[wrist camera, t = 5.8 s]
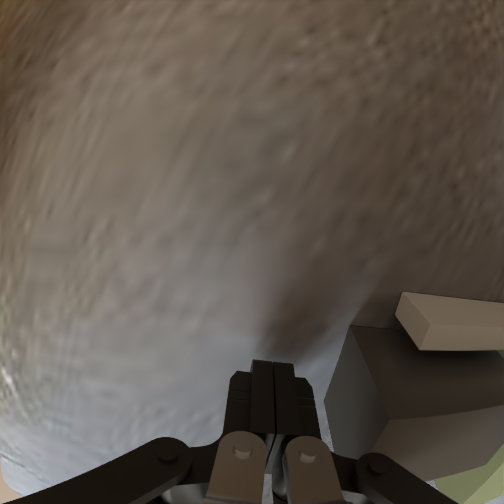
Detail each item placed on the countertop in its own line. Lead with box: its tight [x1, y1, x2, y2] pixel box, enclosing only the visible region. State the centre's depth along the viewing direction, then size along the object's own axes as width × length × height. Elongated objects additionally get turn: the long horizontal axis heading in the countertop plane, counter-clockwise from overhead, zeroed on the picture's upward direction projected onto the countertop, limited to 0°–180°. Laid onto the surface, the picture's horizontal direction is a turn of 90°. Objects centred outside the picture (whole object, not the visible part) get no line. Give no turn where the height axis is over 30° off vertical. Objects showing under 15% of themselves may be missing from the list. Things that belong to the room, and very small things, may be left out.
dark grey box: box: [324, 326, 504, 481], centre depth 10 cm, size 7×4×5 cm, turn 82°
